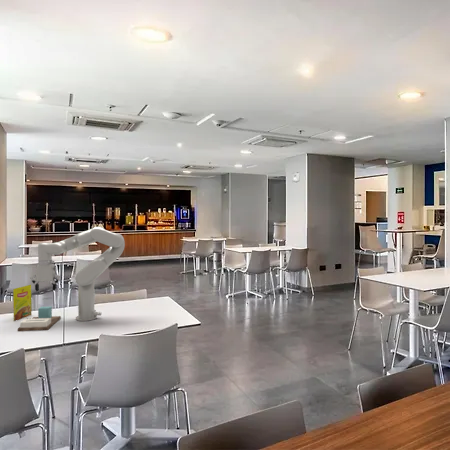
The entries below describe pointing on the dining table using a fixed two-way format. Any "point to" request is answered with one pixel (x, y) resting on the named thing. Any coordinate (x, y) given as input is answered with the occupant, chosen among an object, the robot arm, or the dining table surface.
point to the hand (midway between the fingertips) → (45, 290)
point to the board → (53, 321)
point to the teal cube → (45, 312)
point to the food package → (22, 302)
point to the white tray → (35, 322)
